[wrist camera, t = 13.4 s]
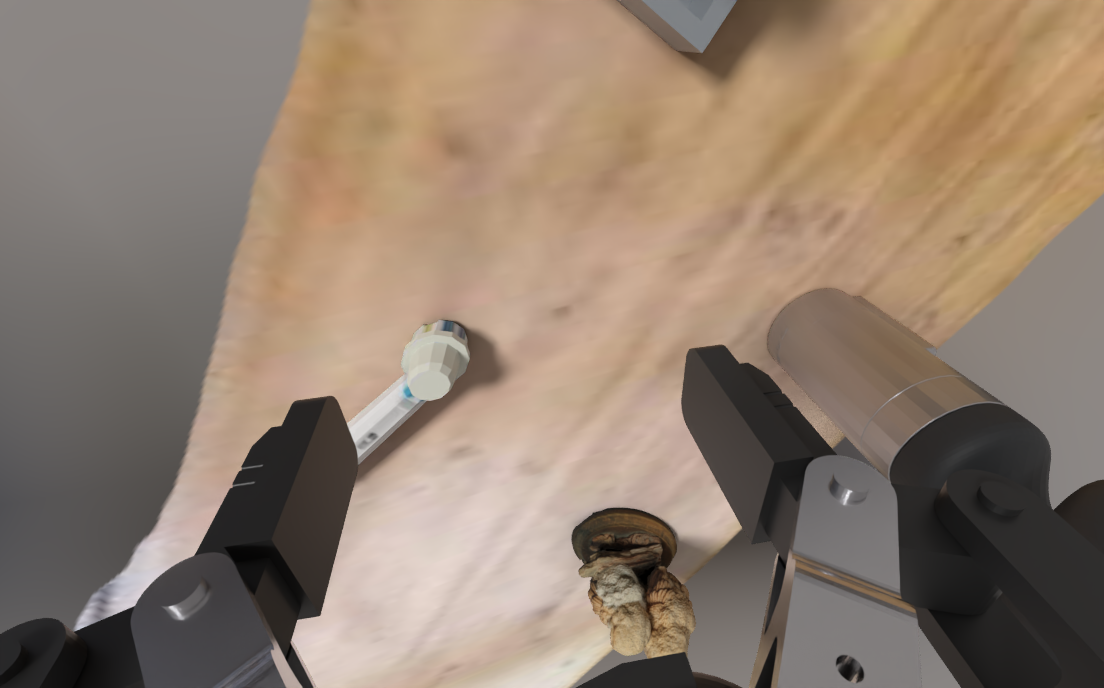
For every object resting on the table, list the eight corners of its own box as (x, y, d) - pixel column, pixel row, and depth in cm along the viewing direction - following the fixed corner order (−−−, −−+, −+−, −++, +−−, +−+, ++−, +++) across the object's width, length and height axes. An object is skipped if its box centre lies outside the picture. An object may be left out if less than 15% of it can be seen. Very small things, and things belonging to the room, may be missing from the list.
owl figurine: (542, 541, 62) (564, 690, 48) (606, 488, 58) (650, 633, 44) (634, 581, 70) (675, 718, 56) (695, 536, 67) (756, 672, 52)
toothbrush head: (266, 499, 46) (425, 355, 36) (292, 444, 51) (437, 305, 41) (316, 519, 49) (478, 390, 38) (336, 465, 54) (484, 339, 43)
